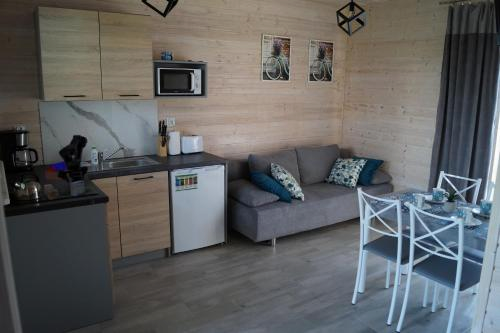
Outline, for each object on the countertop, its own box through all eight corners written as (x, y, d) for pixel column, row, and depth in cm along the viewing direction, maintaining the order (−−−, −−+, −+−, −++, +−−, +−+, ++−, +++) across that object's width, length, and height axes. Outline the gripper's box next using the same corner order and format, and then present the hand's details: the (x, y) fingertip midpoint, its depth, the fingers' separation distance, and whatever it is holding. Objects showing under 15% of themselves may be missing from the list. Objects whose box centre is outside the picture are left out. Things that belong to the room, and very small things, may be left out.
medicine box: (76, 196, 267) (75, 183, 265) (70, 195, 268) (69, 182, 267) (85, 193, 274) (84, 180, 272) (80, 192, 275) (78, 180, 274)
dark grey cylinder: (53, 194, 271) (52, 185, 270) (55, 196, 267) (54, 187, 266) (45, 195, 268) (44, 187, 266) (47, 197, 264) (46, 188, 263)
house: (74, 174, 331) (73, 160, 328) (59, 180, 311) (58, 165, 309) (61, 174, 333) (59, 160, 330) (45, 179, 313) (43, 164, 311)
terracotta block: (51, 192, 275) (50, 184, 274) (53, 194, 272) (52, 185, 271) (45, 193, 273) (44, 185, 271) (46, 195, 270) (46, 186, 268)
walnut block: (56, 196, 266) (55, 189, 265) (58, 198, 262) (58, 190, 261) (48, 198, 262) (47, 190, 261) (50, 199, 259) (49, 192, 258)
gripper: (56, 157, 265) (63, 176, 259) (86, 154, 277) (93, 172, 271) (54, 167, 272) (60, 186, 266) (82, 164, 284) (89, 182, 278)
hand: (76, 181), depth 270 cm, fingers open, 9 cm apart
